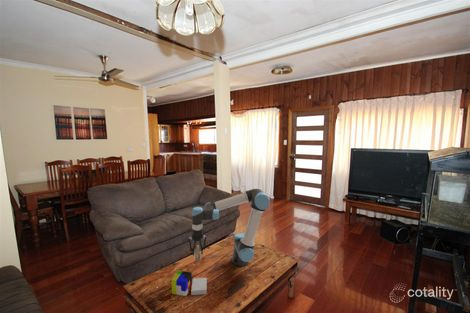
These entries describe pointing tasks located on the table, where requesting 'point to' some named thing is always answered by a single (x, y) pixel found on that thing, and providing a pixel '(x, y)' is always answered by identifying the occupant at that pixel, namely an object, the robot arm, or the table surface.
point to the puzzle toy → (181, 283)
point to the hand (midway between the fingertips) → (197, 258)
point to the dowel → (197, 252)
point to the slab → (199, 286)
